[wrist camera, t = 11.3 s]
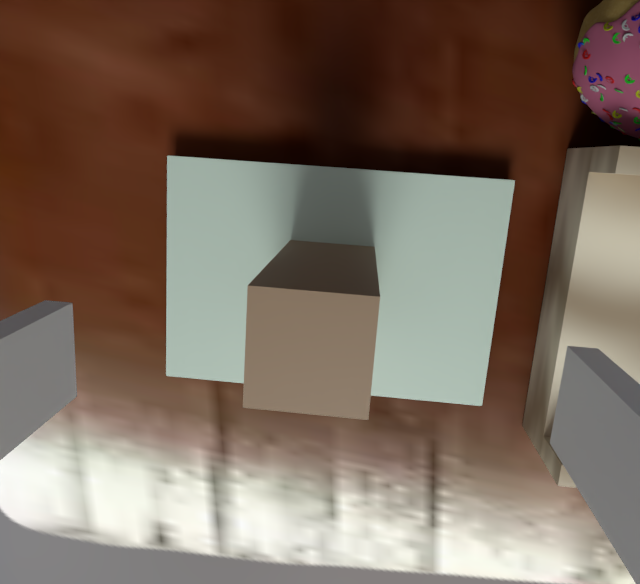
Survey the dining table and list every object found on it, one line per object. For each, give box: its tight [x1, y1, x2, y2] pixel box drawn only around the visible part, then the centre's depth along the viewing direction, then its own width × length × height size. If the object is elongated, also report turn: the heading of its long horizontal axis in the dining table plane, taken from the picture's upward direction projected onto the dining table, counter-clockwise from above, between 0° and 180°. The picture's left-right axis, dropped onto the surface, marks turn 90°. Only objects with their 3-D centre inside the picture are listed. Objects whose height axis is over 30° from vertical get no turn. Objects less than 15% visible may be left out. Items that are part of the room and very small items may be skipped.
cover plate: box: [166, 156, 515, 420], centre depth 23 cm, size 11×16×12 cm
